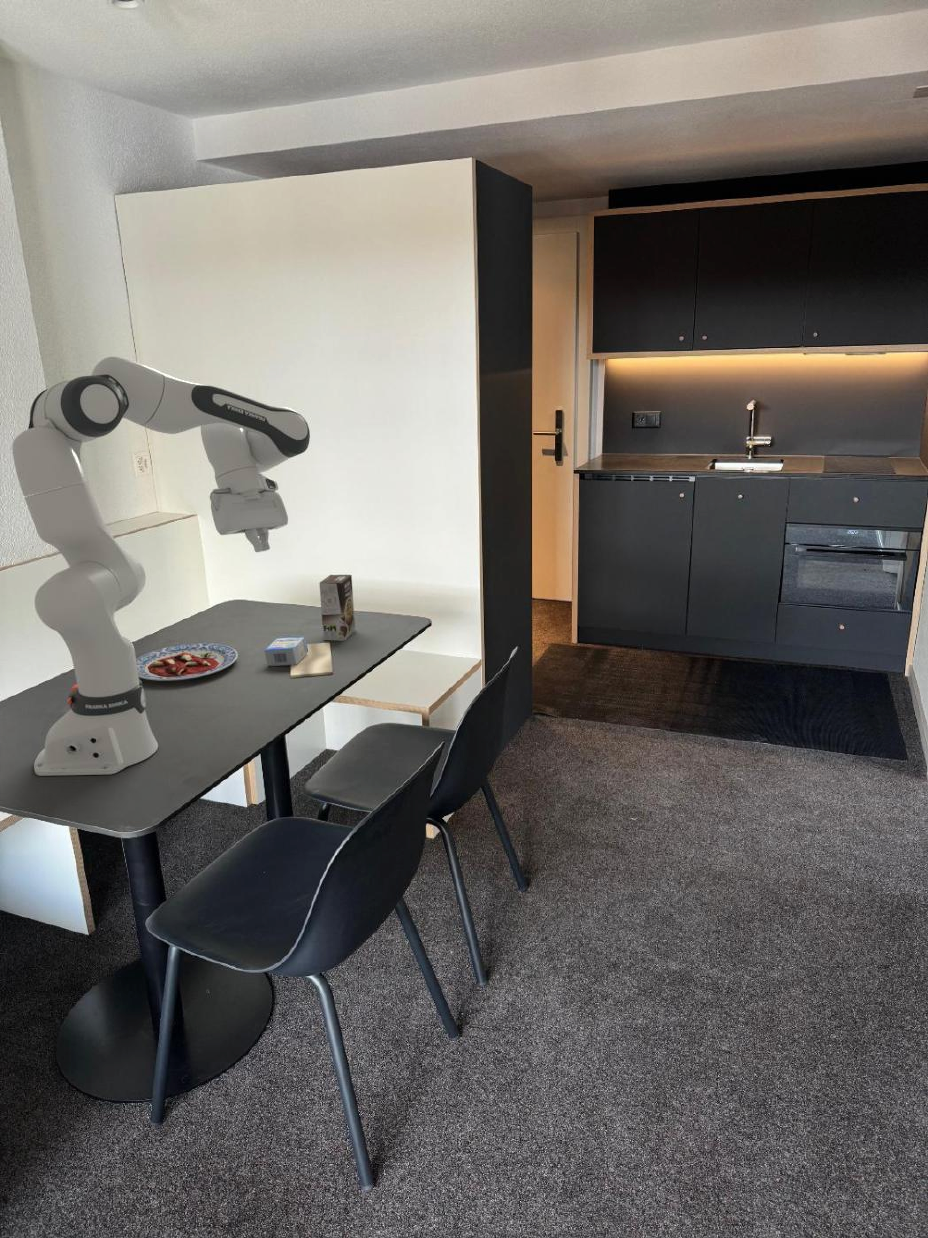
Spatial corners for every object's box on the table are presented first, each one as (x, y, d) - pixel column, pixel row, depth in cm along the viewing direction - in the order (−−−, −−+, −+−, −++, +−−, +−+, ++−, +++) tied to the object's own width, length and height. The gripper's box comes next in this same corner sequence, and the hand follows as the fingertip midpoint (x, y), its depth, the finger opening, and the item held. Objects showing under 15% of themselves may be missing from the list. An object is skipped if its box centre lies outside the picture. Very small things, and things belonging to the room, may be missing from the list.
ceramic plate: (156, 697, 201) (154, 684, 200) (114, 668, 220) (113, 657, 219) (257, 668, 217) (256, 656, 216) (210, 644, 236) (209, 633, 235)
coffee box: (345, 641, 234) (341, 583, 229) (322, 640, 235) (318, 582, 230) (356, 630, 242) (352, 574, 237) (334, 629, 244) (329, 573, 239)
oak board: (290, 677, 209) (290, 675, 209) (291, 647, 230) (291, 645, 230) (332, 673, 211) (332, 671, 211) (329, 644, 232) (329, 642, 232)
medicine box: (263, 650, 216) (276, 637, 224) (267, 667, 217) (280, 653, 225) (293, 648, 214) (305, 635, 222) (297, 665, 216) (308, 651, 223)
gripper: (219, 483, 171) (242, 550, 171) (281, 481, 189) (302, 542, 190) (196, 494, 174) (219, 560, 174) (259, 491, 192) (280, 551, 192)
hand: (263, 550), depth 182 cm, fingers closed
